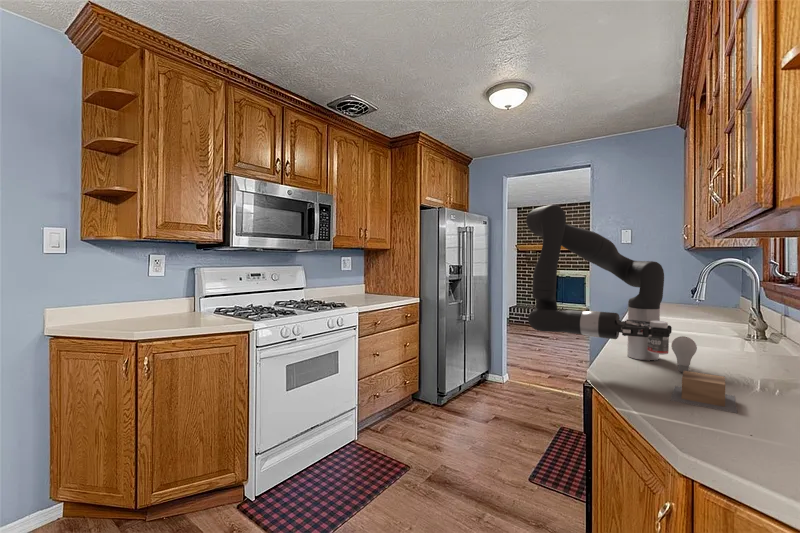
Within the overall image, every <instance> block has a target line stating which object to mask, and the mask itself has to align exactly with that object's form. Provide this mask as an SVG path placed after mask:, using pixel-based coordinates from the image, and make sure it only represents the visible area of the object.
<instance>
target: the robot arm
mask: <svg viewBox="0 0 800 533" xmlns="http://www.w3.org/2000/svg"><path fill="white" fill-rule="evenodd" d="M525 220H526V221H525V222H526V226H527V227H528V230H529V231H530V232H531V233H533V234H534V235H536V236H539V237H540V238H542V245H541V246H542V247H541V250H540V253H539V257H538V259H537V262H536V265H535V267H534V270H533V274H532V297H533V298H534V300H535V309H533V310H532V311H530V313H529V314H528V318H527V320H528V322H527V323H528V324H529V325H530V327H531V328H532V329H533V330H536V331H538V332H539V331H540V332H545V333H546V332H547V333H551V332H552V333H567V334H573V335H575V334H576V335H584V336H586V337H587V336H588V337H591V338H601V339H610V340H617V339H618V338H619V336H620V334H621V335H622V336H623V337H626V336H627V357H629V358H632V359H636V360H641V361H650V360H654V361H659V360H660V354H653V353H650V352H648V349H647V348H648V336H649V337H650V336H660V337H670V336H671V333H673V332H672V330H673V329H672V328H673V327H672V326H671V325H668V327H667V328H657V327H653V329H652V327H651V326H650V321H661V320H660V319H661V318H660V315H661V314H660V313H661V311H660V309H661V303H662V300H663V297H664V286H665V271H664V268H663V266H662V264H661V263H659V262H657V261H653V260H650V261H649V260H633V259H631V258H629V257H626V256H624V255H623V254H621V253H620V252H619V251H618V249H617V248H618V247H616V245H615V244H614V243H613V242H612V241H611V240H609V239H608V238H606V237H605V236H603V235H601V234H599V233H598V232H594V231H592V230H589V229H586V228H582V227H577V226H574V225H571V224H567V223H566V222H567V216H566V213H565V210H564V209H563V208H562V207H561V206H560V205H557V204H549V205H548V204H547V205H544V206H543V205H542V206H539V207H536V208H533V209H532V210H531V211H529V213H527V216H526V219H525ZM562 247H563V248H565V249H566V250H568V251H570V252H571V253H573V254H575V255H576V256H579V257H580V258H582V259H583V260H585V261H588V262H589V263H591V264H593V265H595V266H597V267H599V268H601V269H603V270H605V271H608V272H609V273H611V274H612V275H614V276H616V277H617V278H618V279H620V280H621V281H622V282H624V283H625V284H627V285H628V286H630V287H634V288H639V291H638V294H637V295H635V296H634V297H631V298H629V299H628V303H627V304H628V306H627V307H628V308H627V310H628V311H627V312H628V314H627V315H628V316H627V319H626V320H621V319H620V314H619V313H617V312H608V311H599V310H598V311H595V310H587V311H586V310H583V311H582V310H571V309H569V310H558V306H557V298H556V297H557V296H556V294H557V277H558V275H557V274H558V264H559V258H560V254H561V248H562ZM658 359H659V360H658Z"/></svg>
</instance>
